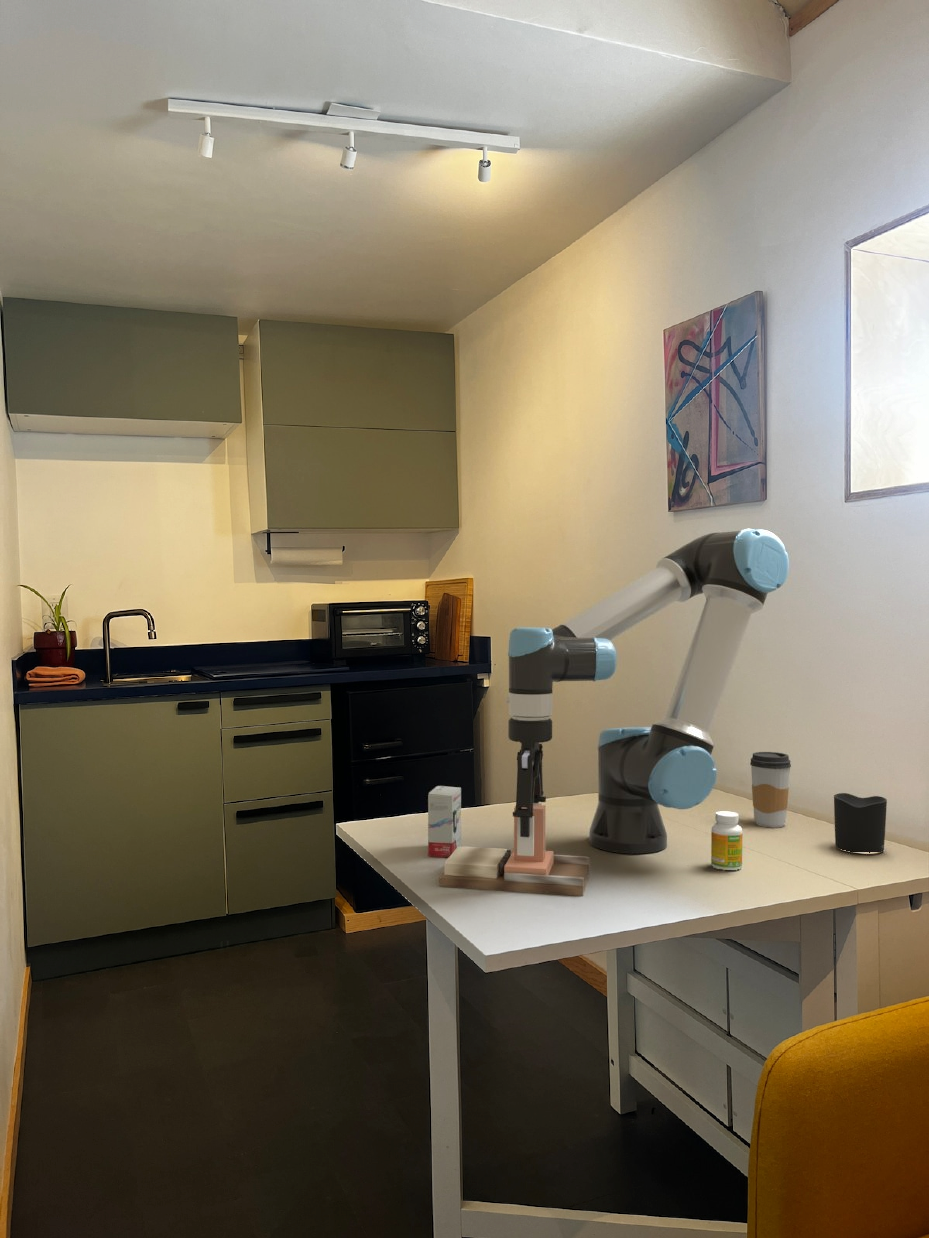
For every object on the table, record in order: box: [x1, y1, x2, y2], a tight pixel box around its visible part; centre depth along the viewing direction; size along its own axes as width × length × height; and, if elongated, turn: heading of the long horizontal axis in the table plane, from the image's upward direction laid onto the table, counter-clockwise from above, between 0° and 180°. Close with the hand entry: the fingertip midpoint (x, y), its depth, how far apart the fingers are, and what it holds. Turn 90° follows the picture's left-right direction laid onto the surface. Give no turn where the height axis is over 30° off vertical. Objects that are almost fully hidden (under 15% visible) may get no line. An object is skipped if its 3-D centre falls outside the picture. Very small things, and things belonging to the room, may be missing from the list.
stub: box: [504, 804, 555, 875], centre depth 160 cm, size 7×11×11 cm, turn 168°
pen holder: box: [833, 792, 888, 853], centre depth 180 cm, size 9×9×10 cm
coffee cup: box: [749, 751, 792, 829], centre depth 199 cm, size 8×8×15 cm
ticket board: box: [438, 845, 590, 897], centre depth 161 cm, size 24×14×4 cm, turn 78°
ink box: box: [427, 785, 462, 858], centre depth 178 cm, size 9×5×12 cm, turn 168°
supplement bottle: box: [710, 810, 743, 871], centre depth 168 cm, size 5×5×10 cm
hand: (529, 847), depth 160 cm, fingers open, 9 cm apart
